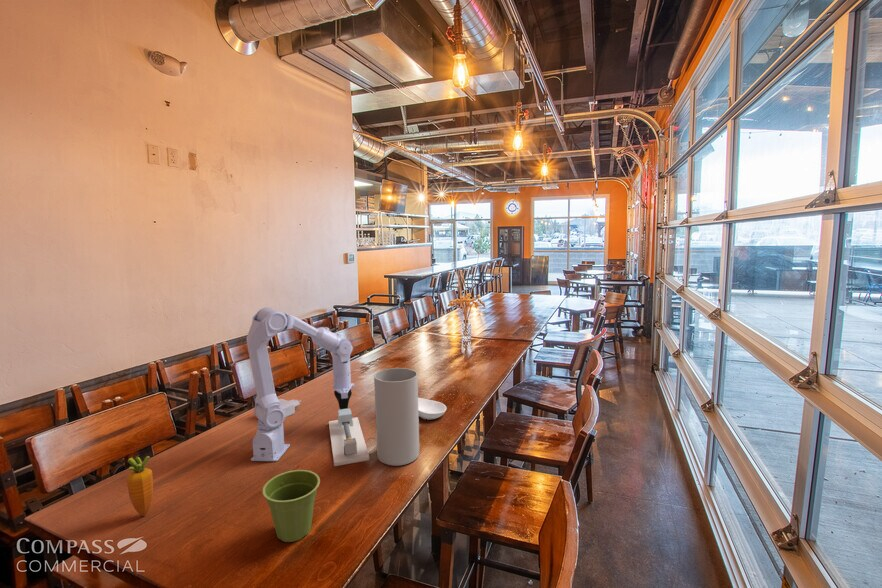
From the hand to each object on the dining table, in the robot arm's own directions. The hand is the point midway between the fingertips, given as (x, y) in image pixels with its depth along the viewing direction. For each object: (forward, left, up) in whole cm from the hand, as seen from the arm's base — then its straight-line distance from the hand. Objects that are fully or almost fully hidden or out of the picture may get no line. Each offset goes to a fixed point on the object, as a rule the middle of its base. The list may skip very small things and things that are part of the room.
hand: (343, 411), depth 142 cm
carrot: (-47, +34, -6) cm, 59 cm away
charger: (+12, +27, -6) cm, 30 cm away
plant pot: (-51, -4, -6) cm, 51 cm away
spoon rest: (+11, -23, -6) cm, 26 cm away
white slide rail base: (-9, -4, -6) cm, 11 cm away
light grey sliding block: (-4, -2, -2) cm, 5 cm away
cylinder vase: (-18, -22, -6) cm, 29 cm away
